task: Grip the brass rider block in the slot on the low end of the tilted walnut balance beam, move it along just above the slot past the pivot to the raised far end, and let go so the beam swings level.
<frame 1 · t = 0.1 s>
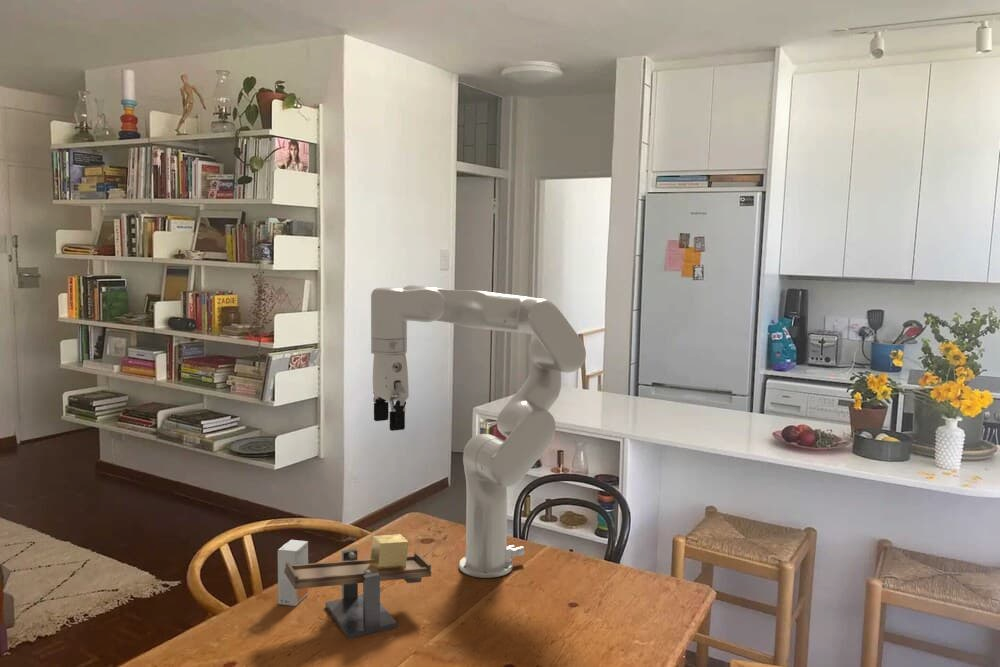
hand: (389, 425, 167), 37 cm above the table, tool pointing down, fingers open, 9 cm apart
rider: (387, 567, 160), point 9 cm above the table, tilted 6°, touching beam
stand: (360, 616, 158), on the table
skincare box: (293, 600, 166), on the table
beam: (359, 571, 157), point 10 cm above the table, hinge at -6.4°, touching rider
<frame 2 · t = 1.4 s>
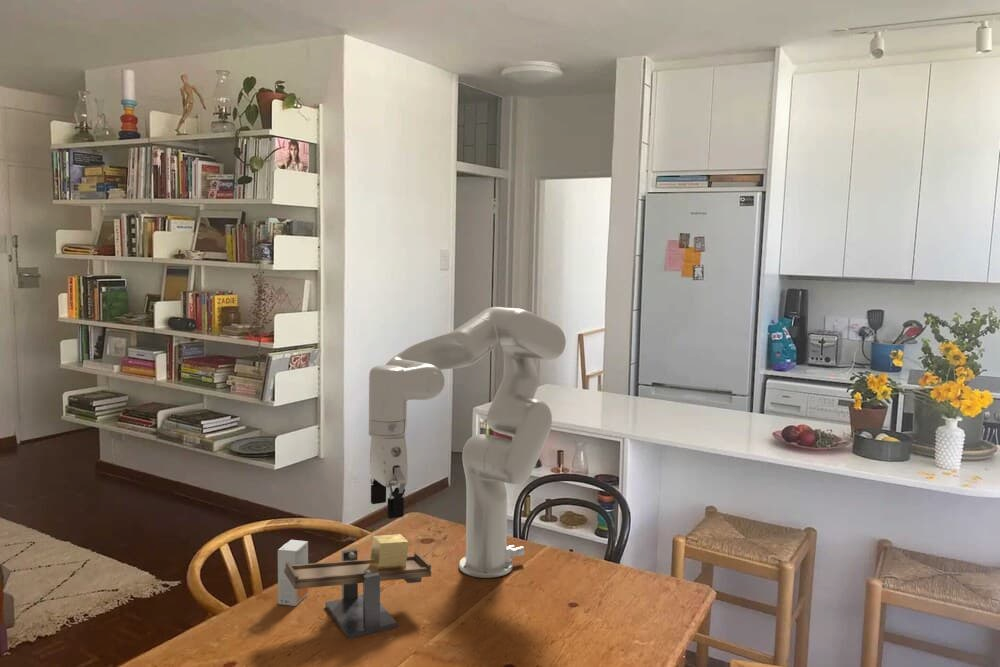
hand: (386, 510, 158), 22 cm above the table, tool pointing down, fingers open, 9 cm apart
nothing on the table moved.
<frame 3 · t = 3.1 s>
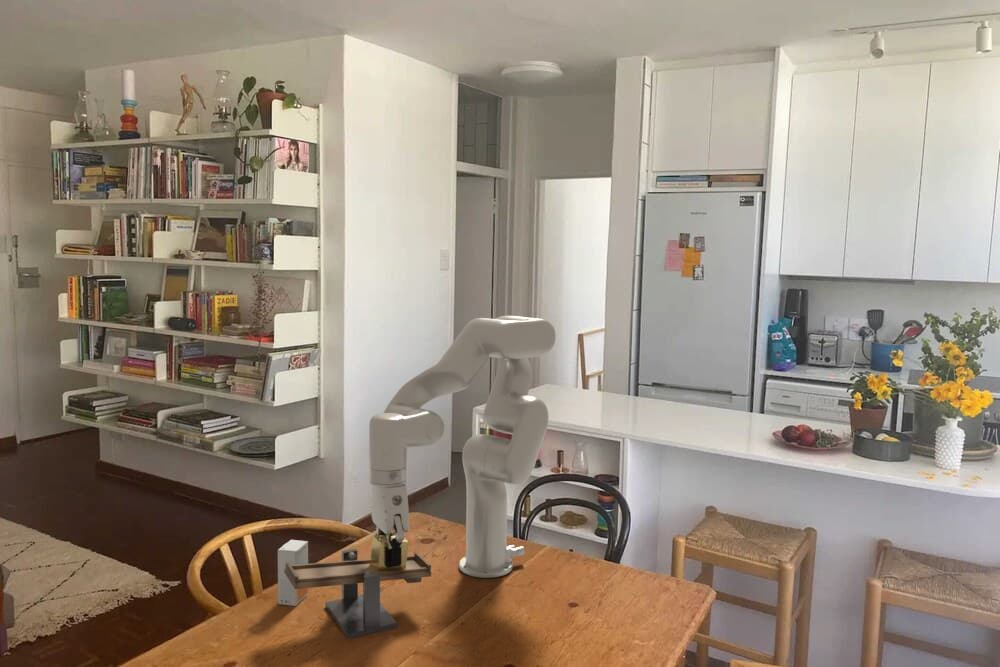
hand: (388, 560, 160), 11 cm above the table, tool pointing down, fingers closed on rider, 4 cm apart
rider: (387, 567, 160), point 9 cm above the table, tilted 6°, touching beam, gripper
everything else where it was.
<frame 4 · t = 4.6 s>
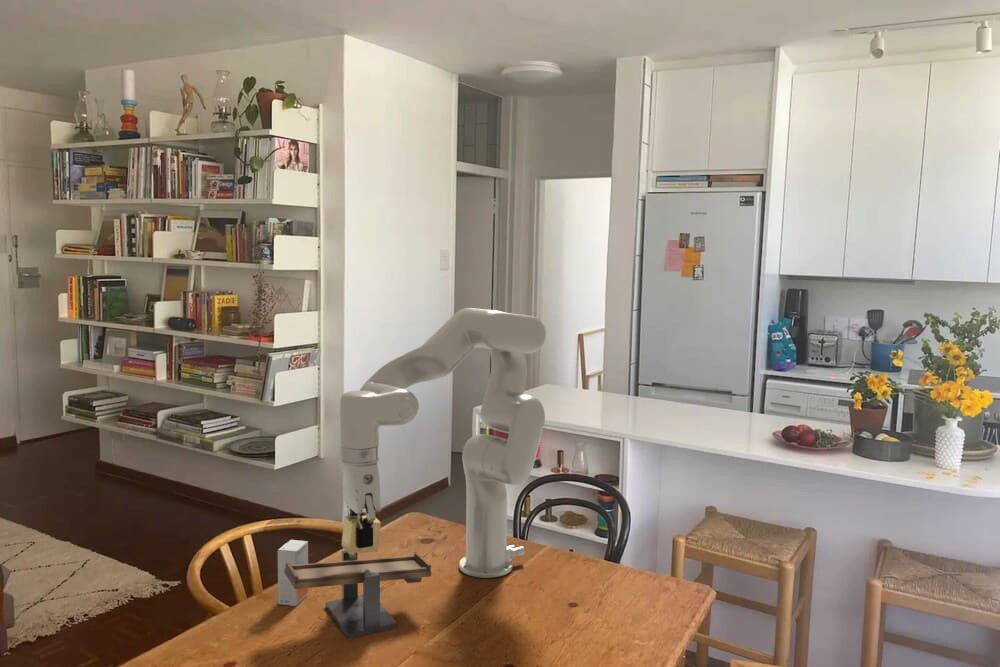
hand: (360, 541, 156), 16 cm above the table, tool pointing down, fingers closed on rider, 4 cm apart
rider: (359, 548, 156), point 14 cm above the table, tilted 7°, touching gripper
beam: (359, 571, 157), point 10 cm above the table, hinge at -6.4°
everything else where it was.
when the fingers open (13 cm above the table, at t = 6.3 s): rider drops 1 cm, resting on beam.
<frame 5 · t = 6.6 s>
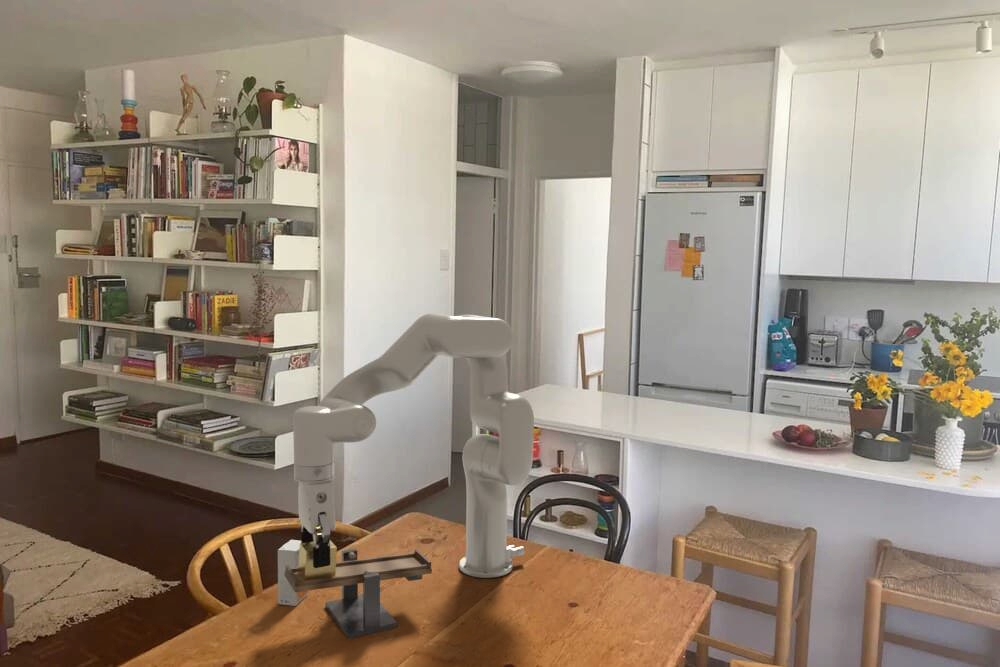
hand: (315, 557, 152), 14 cm above the table, tool pointing down, fingers open, 8 cm apart
rider: (316, 575, 153), point 11 cm above the table, touching beam
beam: (359, 571, 157), point 10 cm above the table, hinge at -3.7°, touching rider
everything else where it was.
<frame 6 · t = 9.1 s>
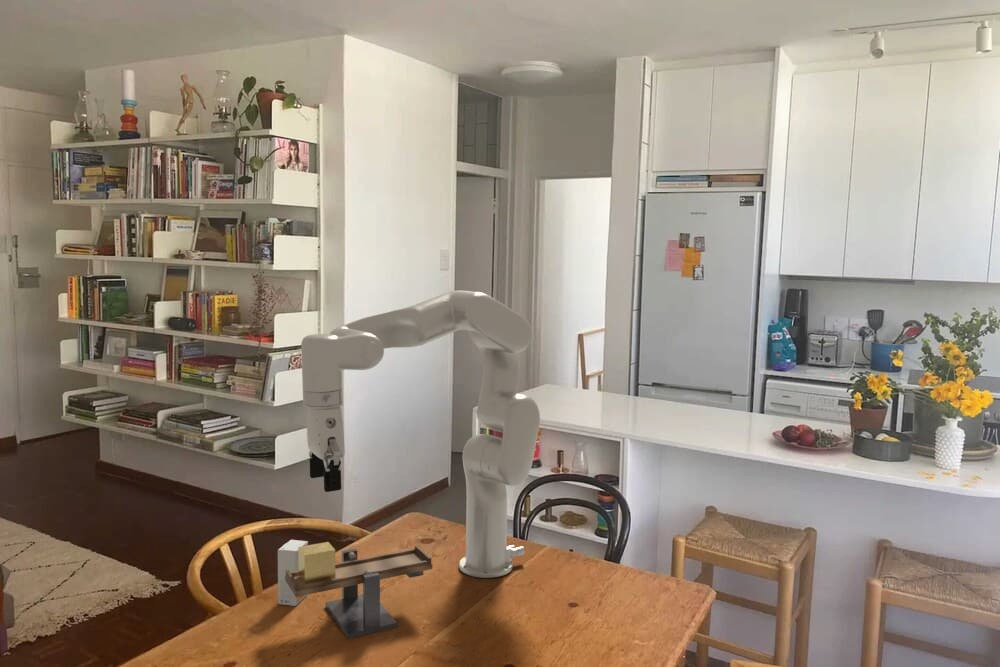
hand: (325, 483, 153), 28 cm above the table, tool pointing down, fingers open, 9 cm apart
beam: (360, 571, 157), point 10 cm above the table, hinge at 0.1°, touching rider
everything else where it was.
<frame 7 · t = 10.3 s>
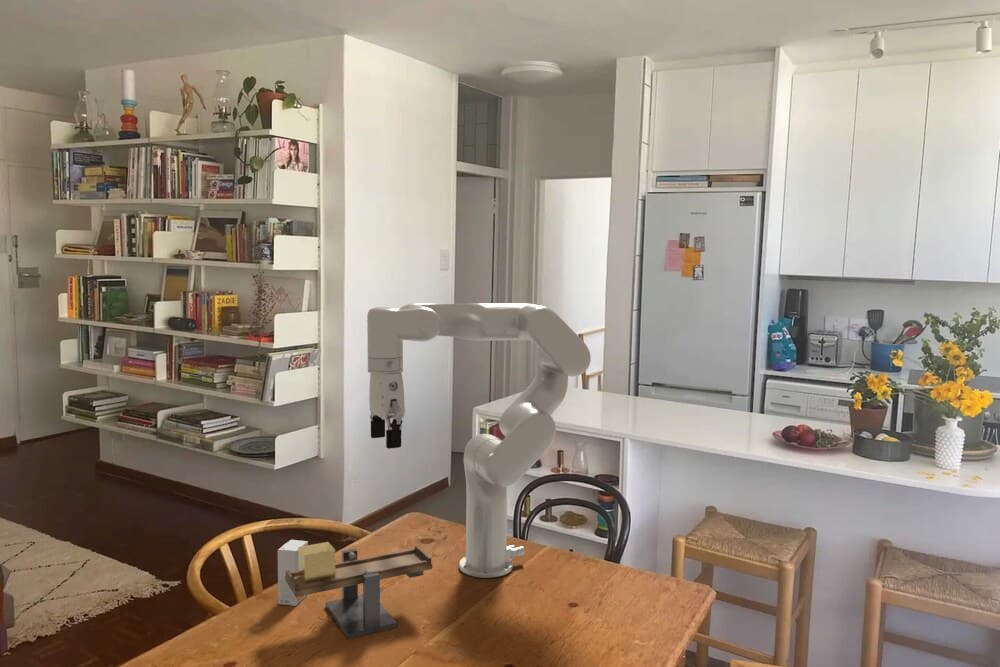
hand: (385, 442, 170), 32 cm above the table, tool pointing down, fingers open, 9 cm apart
nothing on the table moved.
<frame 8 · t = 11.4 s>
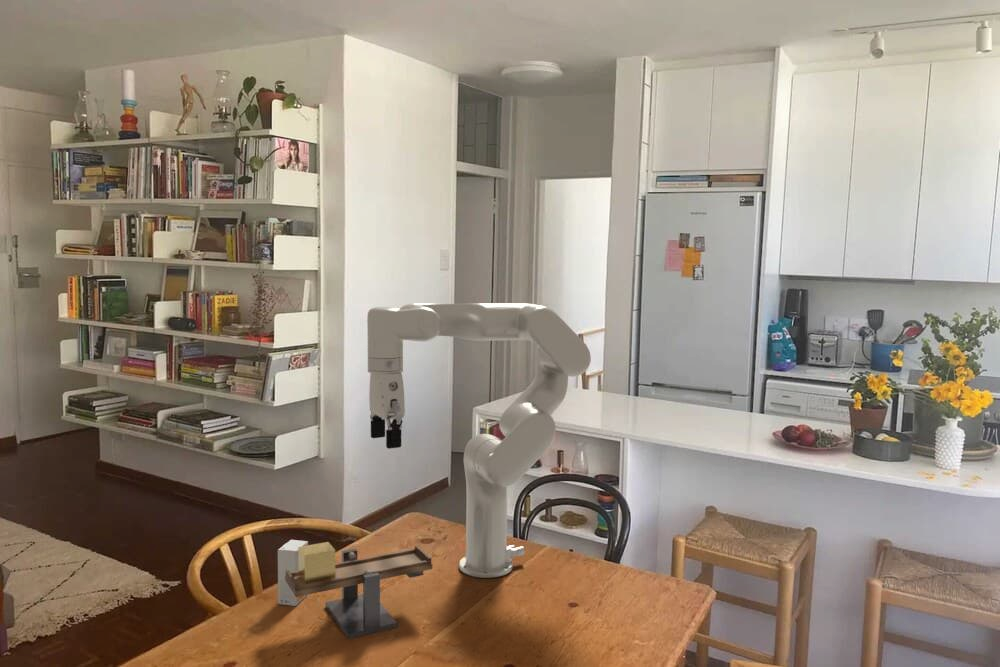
hand: (385, 442, 170), 32 cm above the table, tool pointing down, fingers open, 9 cm apart
nothing on the table moved.
at the end: beam at +0° (first picture: -6°); rider 0.3 cm from the target spot on the beam, point -1.0 cm above the beam's base; rider tilted 0° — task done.
